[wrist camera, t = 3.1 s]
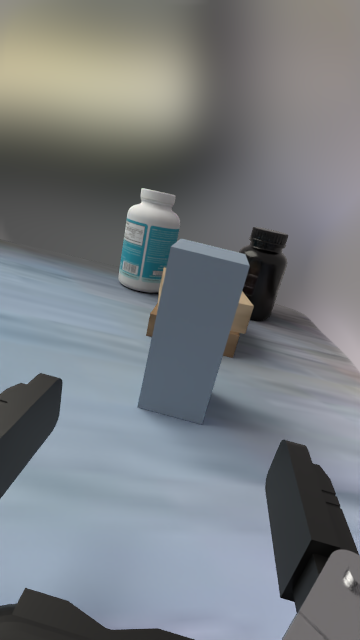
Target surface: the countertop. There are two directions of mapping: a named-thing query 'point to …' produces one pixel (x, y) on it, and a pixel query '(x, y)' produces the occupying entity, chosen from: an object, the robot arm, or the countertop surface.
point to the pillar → (191, 328)
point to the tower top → (241, 313)
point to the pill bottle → (148, 241)
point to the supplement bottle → (264, 270)
